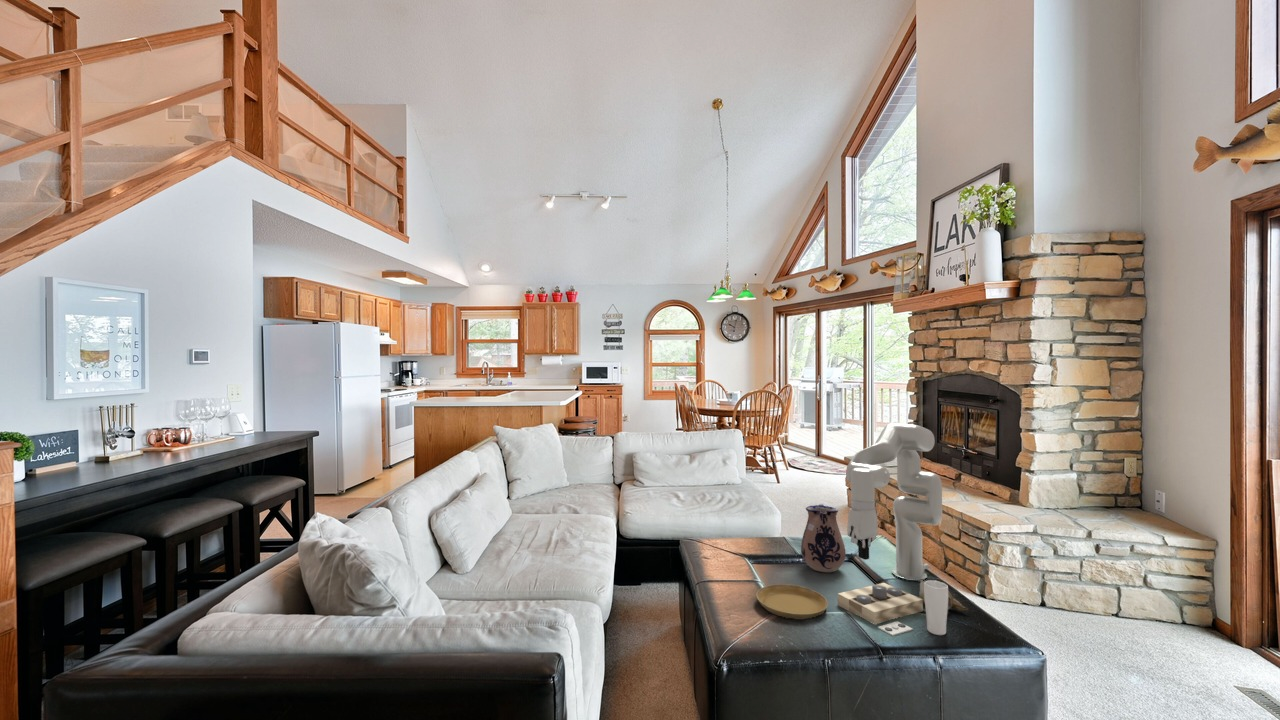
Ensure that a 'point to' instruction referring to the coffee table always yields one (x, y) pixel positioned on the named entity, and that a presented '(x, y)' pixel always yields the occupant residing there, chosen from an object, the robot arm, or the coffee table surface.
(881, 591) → the middle button
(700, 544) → the coffee table surface
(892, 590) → the button
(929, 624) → the drinking glass
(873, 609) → the button board
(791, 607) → the plant saucer
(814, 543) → the ceramic pitcher
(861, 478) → the robot arm
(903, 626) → the pattern card
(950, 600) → the ceramic sculpture
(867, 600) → the button
